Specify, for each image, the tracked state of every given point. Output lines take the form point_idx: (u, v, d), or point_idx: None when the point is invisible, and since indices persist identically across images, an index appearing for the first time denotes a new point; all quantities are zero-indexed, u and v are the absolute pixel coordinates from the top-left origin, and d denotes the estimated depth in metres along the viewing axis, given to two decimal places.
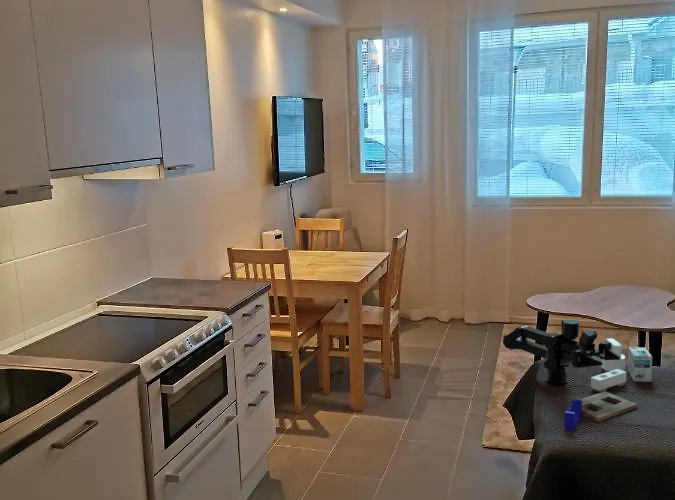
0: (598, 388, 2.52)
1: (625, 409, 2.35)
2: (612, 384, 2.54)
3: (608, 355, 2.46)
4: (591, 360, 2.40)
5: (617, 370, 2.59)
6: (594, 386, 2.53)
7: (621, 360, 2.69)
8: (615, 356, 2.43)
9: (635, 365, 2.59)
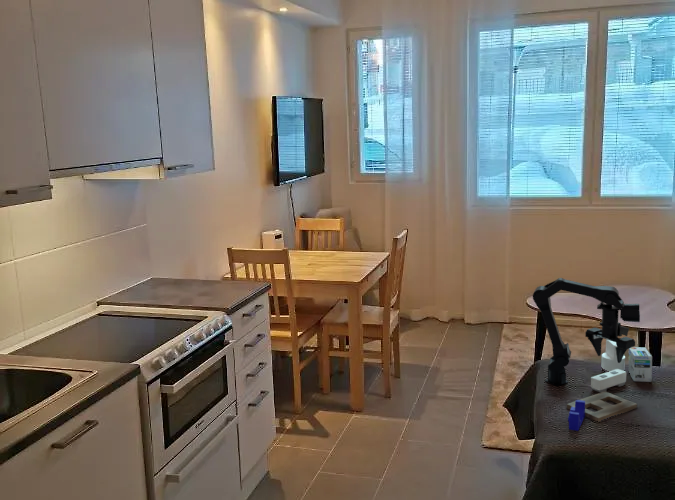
0: (598, 388, 2.52)
1: (625, 409, 2.35)
2: (612, 384, 2.54)
3: (598, 343, 2.58)
4: (622, 354, 2.49)
5: (617, 370, 2.59)
6: (594, 386, 2.53)
7: (621, 360, 2.69)
8: (600, 351, 2.58)
9: (635, 365, 2.59)
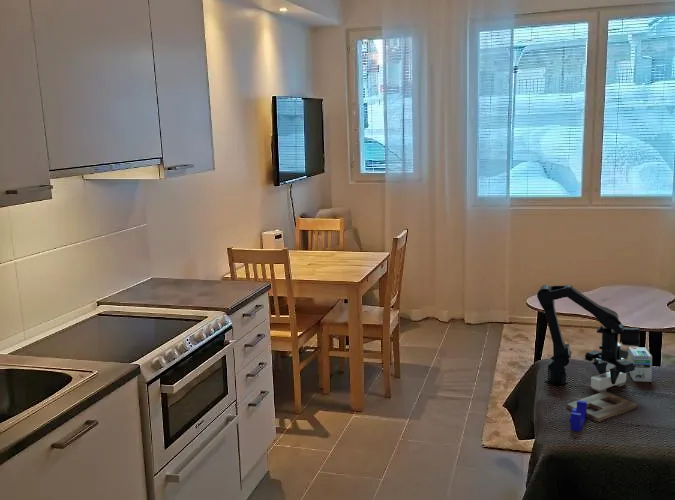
0: (598, 388, 2.52)
1: (625, 409, 2.35)
2: (612, 384, 2.54)
3: (602, 368, 2.57)
4: (616, 375, 2.53)
5: None
6: (594, 386, 2.53)
7: (621, 360, 2.69)
8: None
9: (635, 365, 2.59)
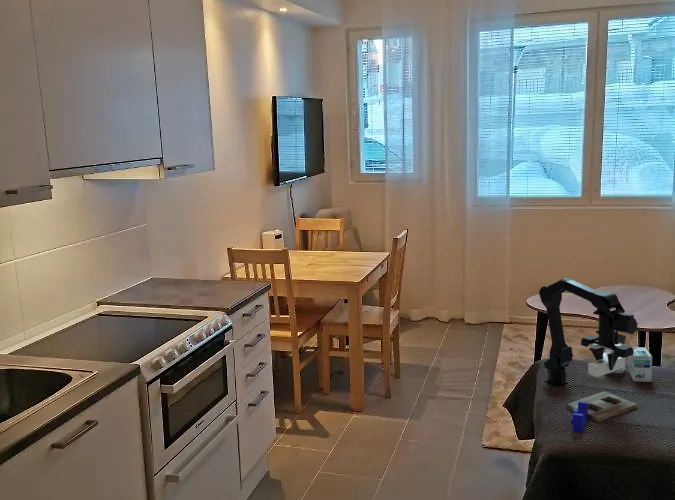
0: (596, 374, 2.39)
1: (625, 409, 2.35)
2: (610, 370, 2.42)
3: (599, 354, 2.45)
4: (614, 361, 2.40)
5: None
6: (591, 372, 2.40)
7: None
8: None
9: (635, 365, 2.59)
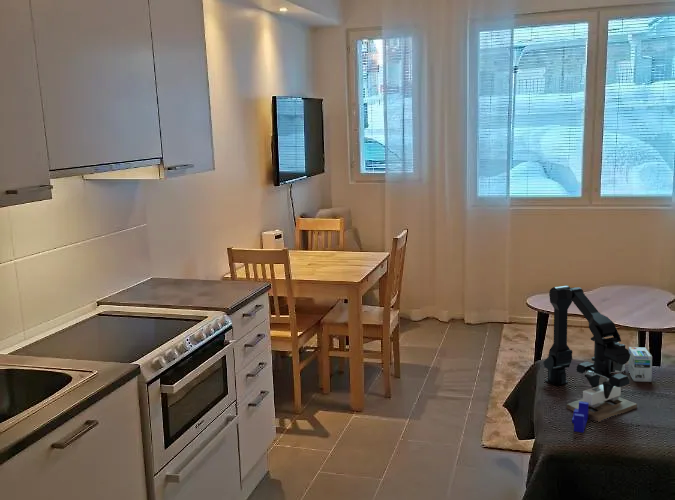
0: (590, 403, 2.34)
1: (625, 409, 2.35)
2: (605, 398, 2.37)
3: (595, 381, 2.40)
4: (610, 389, 2.35)
5: None
6: (586, 400, 2.35)
7: None
8: None
9: (635, 365, 2.59)
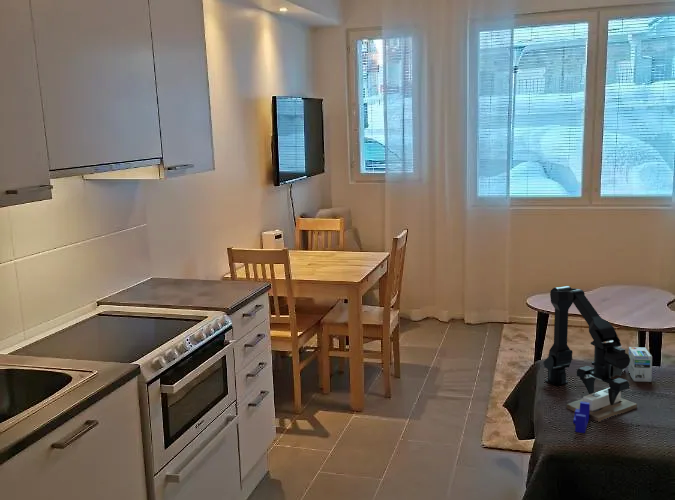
0: (590, 408, 2.34)
1: (625, 409, 2.35)
2: (605, 404, 2.37)
3: (590, 383, 2.42)
4: (615, 395, 2.34)
5: None
6: None
7: None
8: (592, 392, 2.42)
9: (635, 365, 2.59)
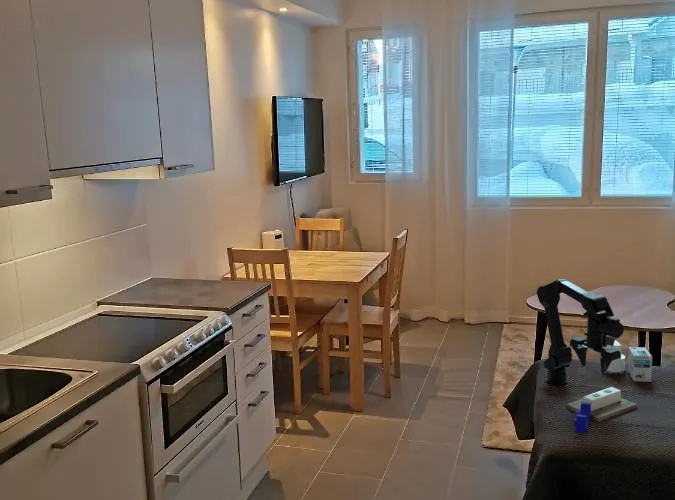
0: None
1: (625, 409, 2.35)
2: (605, 404, 2.37)
3: (582, 353, 2.48)
4: (607, 365, 2.39)
5: (611, 388, 2.42)
6: None
7: (621, 360, 2.69)
8: (584, 362, 2.48)
9: (635, 365, 2.59)
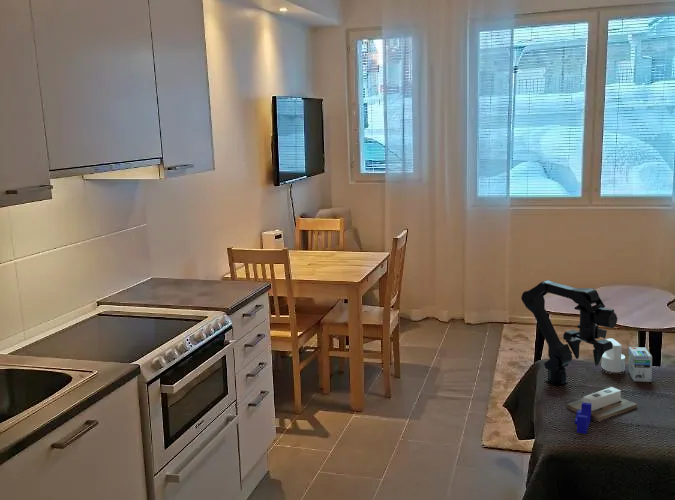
0: None
1: (625, 409, 2.35)
2: (605, 404, 2.37)
3: (575, 346, 2.55)
4: (600, 356, 2.46)
5: (611, 388, 2.42)
6: None
7: (621, 360, 2.69)
8: (578, 354, 2.55)
9: (635, 365, 2.59)
